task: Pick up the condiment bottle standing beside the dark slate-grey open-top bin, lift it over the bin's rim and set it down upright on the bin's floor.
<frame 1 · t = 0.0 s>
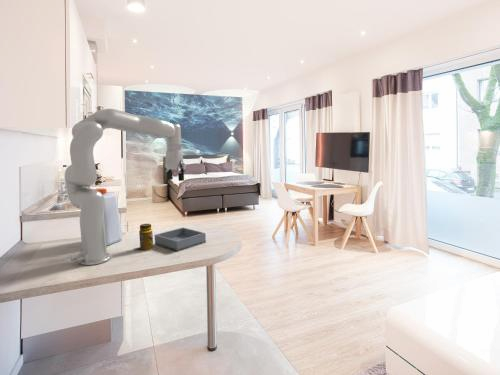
hand: (175, 180, 169), 31 cm above the countertop, tool pointing down, fingers open, 9 cm apart
condiment: (145, 249, 153), on the countertop
open bin: (180, 243, 161), on the countertop
plastic bottle: (104, 242, 165), on the countertop
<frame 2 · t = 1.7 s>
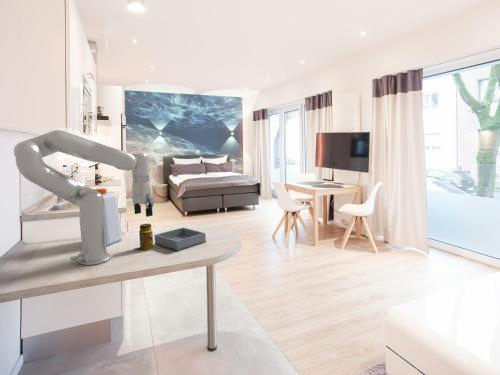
hand: (143, 214, 151), 17 cm above the countertop, tool pointing down, fingers open, 9 cm apart
nothing on the countertop moved.
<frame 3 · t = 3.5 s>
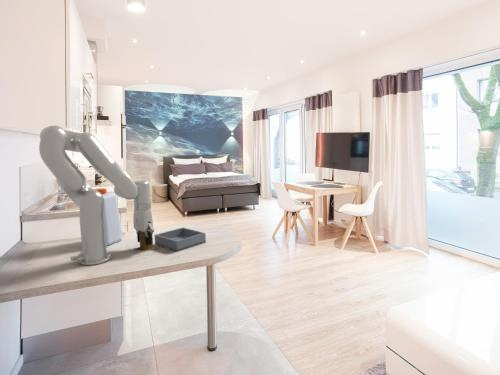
hand: (144, 242, 153), 3 cm above the countertop, tool pointing down, fingers closed on condiment, 6 cm apart
condiment: (144, 249, 154), on the countertop, touching gripper
everything else where it was.
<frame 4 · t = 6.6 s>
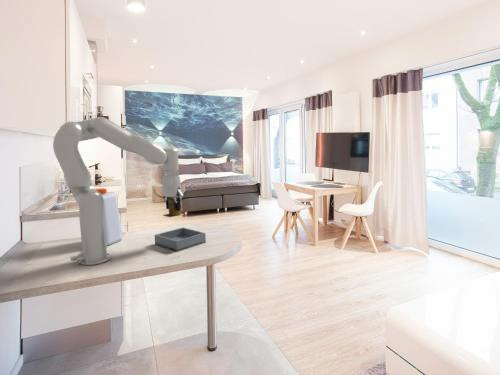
hand: (173, 209, 157), 18 cm above the countertop, tool pointing down, fingers closed on condiment, 6 cm apart
condiment: (173, 215, 158), point 15 cm above the countertop, touching gripper
everything else where it was.
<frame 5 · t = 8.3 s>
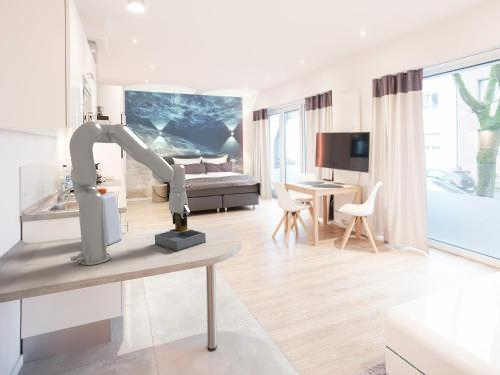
hand: (179, 224, 160), 10 cm above the countertop, tool pointing down, fingers closed on condiment, 6 cm apart
condiment: (179, 230, 160), point 7 cm above the countertop, touching gripper
everything else where it was.
when the fingers open (6 cm above the countertop, at t = 9.5 s): condiment drops 2 cm, resting on open bin.
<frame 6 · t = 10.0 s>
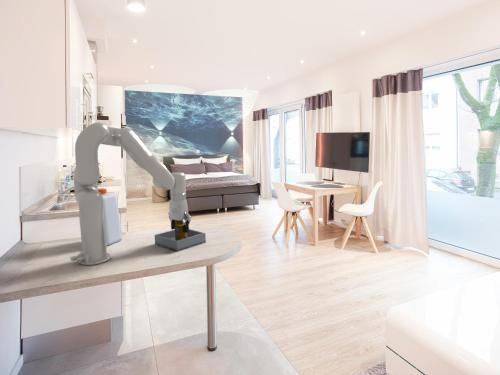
hand: (180, 230, 160), 7 cm above the countertop, tool pointing down, fingers open, 9 cm apart
condiment: (179, 241, 161), point 1 cm above the countertop, touching open bin
everything else where it was.
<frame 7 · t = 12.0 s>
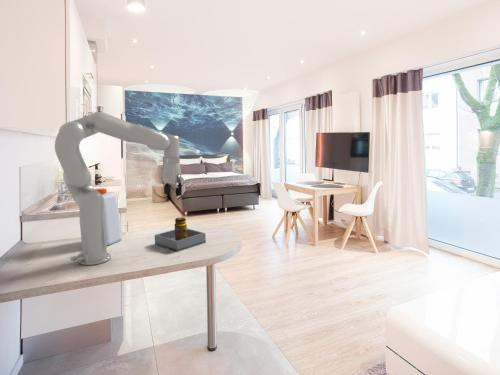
hand: (172, 194, 159), 25 cm above the countertop, tool pointing down, fingers open, 9 cm apart
nothing on the countertop moved.
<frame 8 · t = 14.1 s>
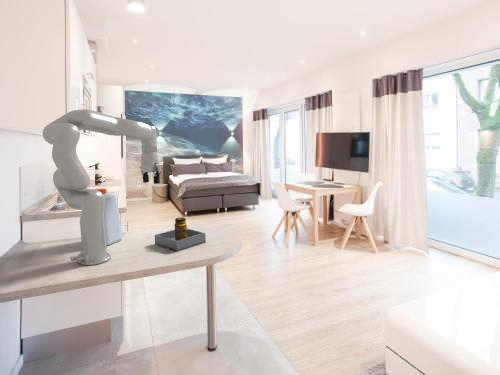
hand: (151, 183, 165), 30 cm above the countertop, tool pointing down, fingers open, 9 cm apart
nothing on the countertop moved.
at the end: condiment inside the target area on the open bin (0.4 cm from its centre), point 0.8 cm above the open bin's base; condiment tilted 0°; the gripper is holding nothing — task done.
